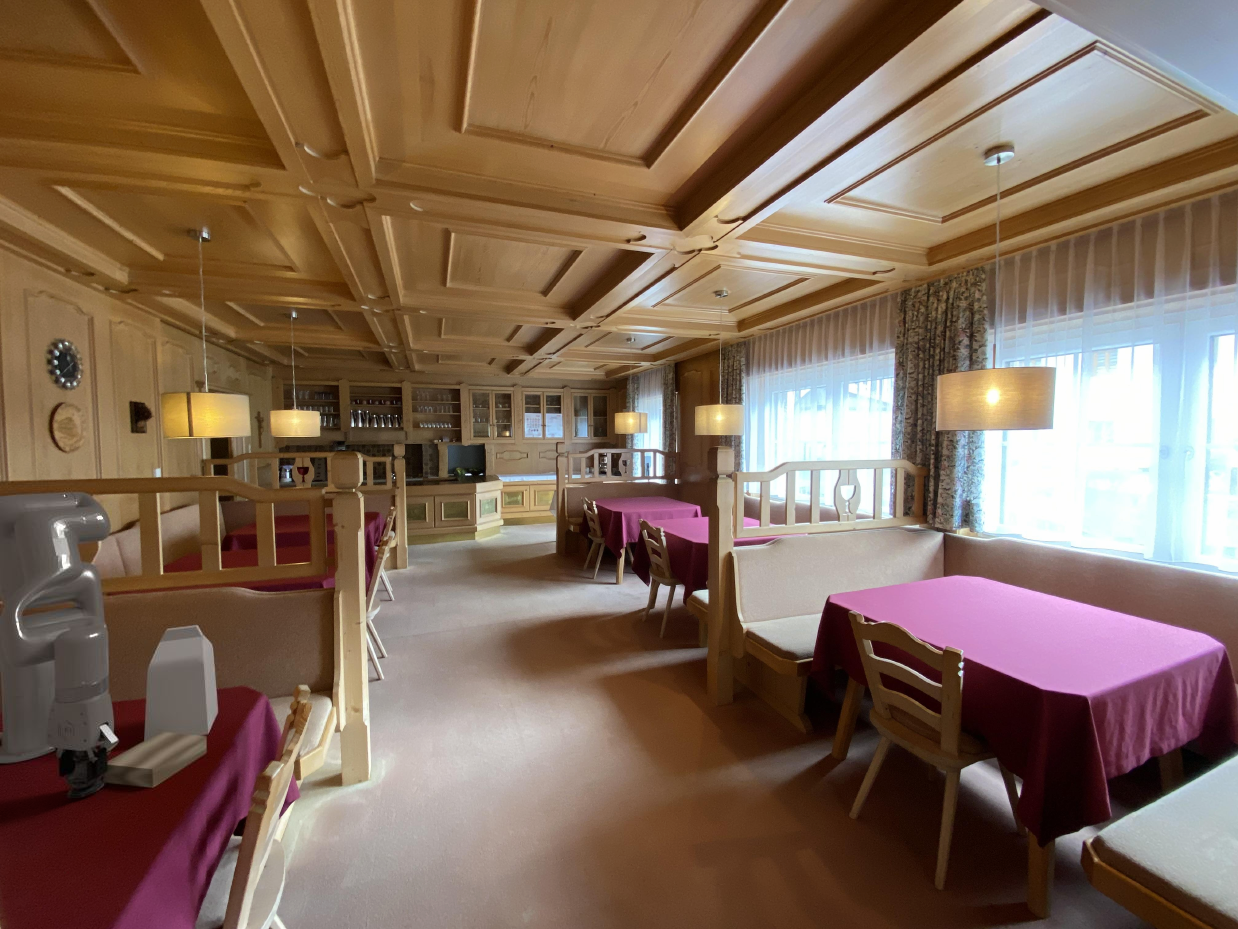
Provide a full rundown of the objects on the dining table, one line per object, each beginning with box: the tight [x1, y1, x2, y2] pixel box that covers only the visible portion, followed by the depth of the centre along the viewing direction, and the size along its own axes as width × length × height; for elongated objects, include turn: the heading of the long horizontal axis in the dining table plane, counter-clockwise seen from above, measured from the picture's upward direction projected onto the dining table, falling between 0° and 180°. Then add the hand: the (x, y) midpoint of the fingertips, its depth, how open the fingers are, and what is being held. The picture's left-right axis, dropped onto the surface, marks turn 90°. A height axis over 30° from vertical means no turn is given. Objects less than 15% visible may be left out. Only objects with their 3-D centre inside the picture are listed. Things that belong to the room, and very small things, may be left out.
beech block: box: [102, 732, 208, 789], centre depth 111 cm, size 12×12×4 cm
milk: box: [143, 624, 219, 742], centre depth 126 cm, size 12×12×26 cm
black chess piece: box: [64, 747, 106, 799], centre depth 103 cm, size 6×6×12 cm
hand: (83, 773), depth 102 cm, fingers closed on black chess piece, 5 cm apart
